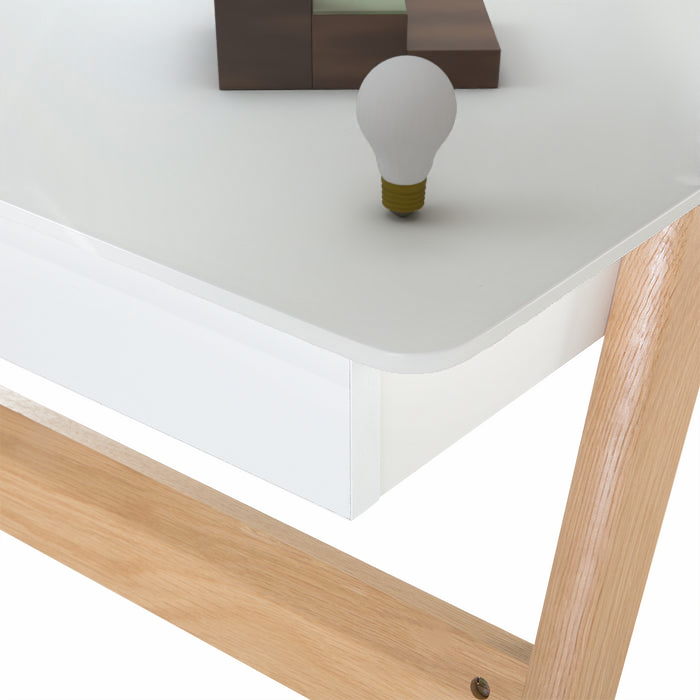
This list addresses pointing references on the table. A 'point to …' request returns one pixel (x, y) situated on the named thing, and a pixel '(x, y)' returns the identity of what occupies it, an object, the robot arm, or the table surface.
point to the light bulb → (405, 125)
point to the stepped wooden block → (350, 41)
